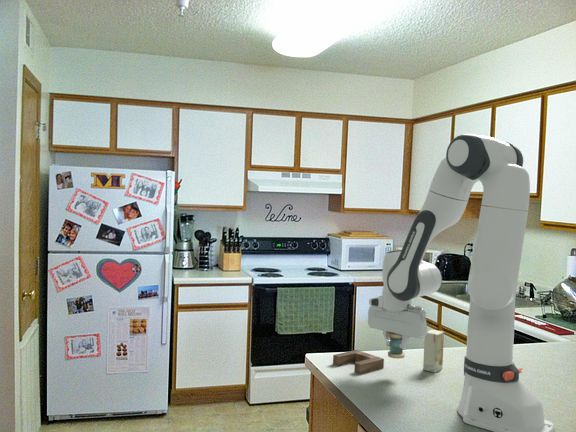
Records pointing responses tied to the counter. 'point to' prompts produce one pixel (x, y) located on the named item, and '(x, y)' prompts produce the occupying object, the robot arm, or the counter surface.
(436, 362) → the skincare box
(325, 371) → the counter surface
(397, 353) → the thread spool
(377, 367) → the notched board
